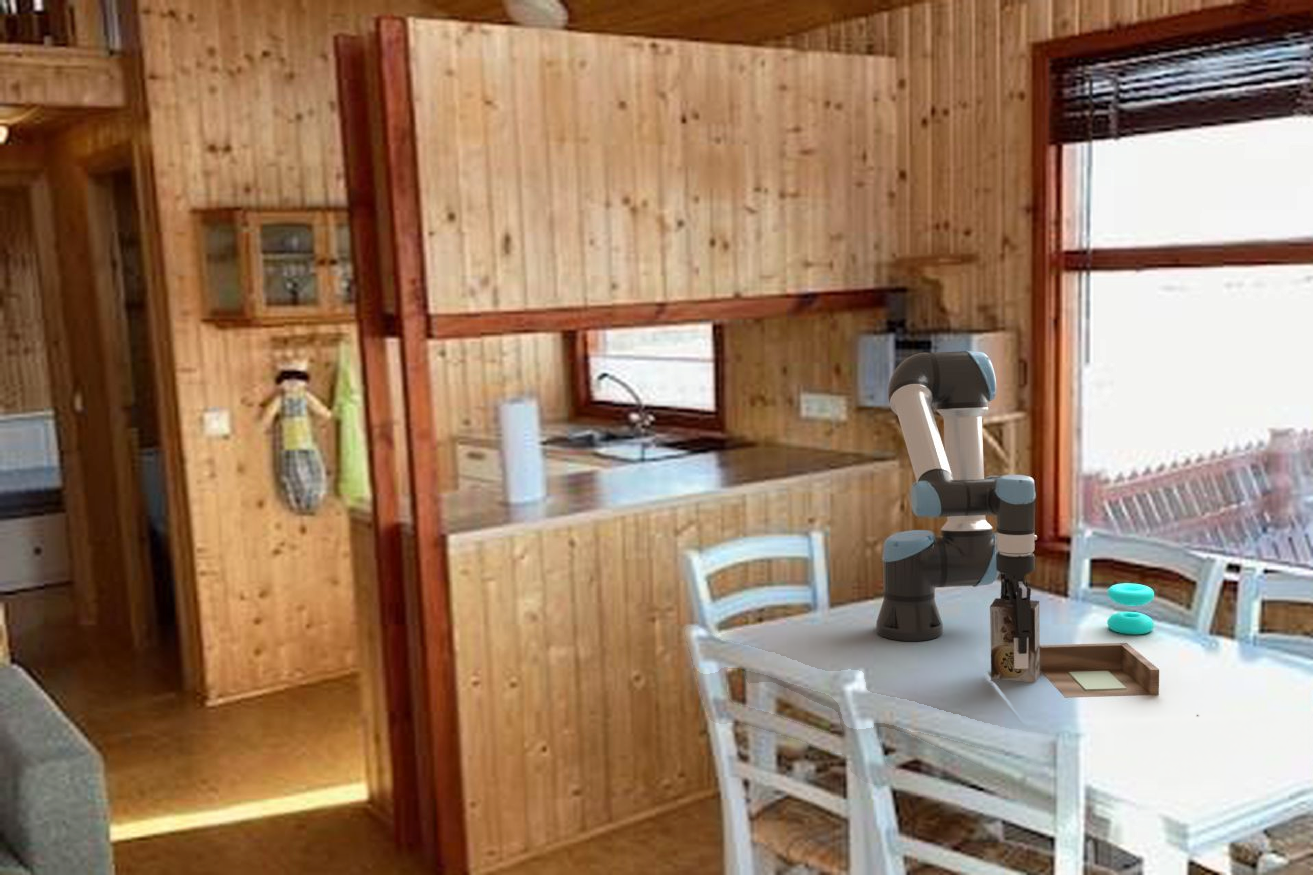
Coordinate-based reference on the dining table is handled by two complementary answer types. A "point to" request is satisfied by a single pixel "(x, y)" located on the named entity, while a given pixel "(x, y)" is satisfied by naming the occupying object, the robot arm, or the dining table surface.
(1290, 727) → the dining table surface
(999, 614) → the coffee box
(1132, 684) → the wooden corner tray
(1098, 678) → the pad
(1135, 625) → the donuts
